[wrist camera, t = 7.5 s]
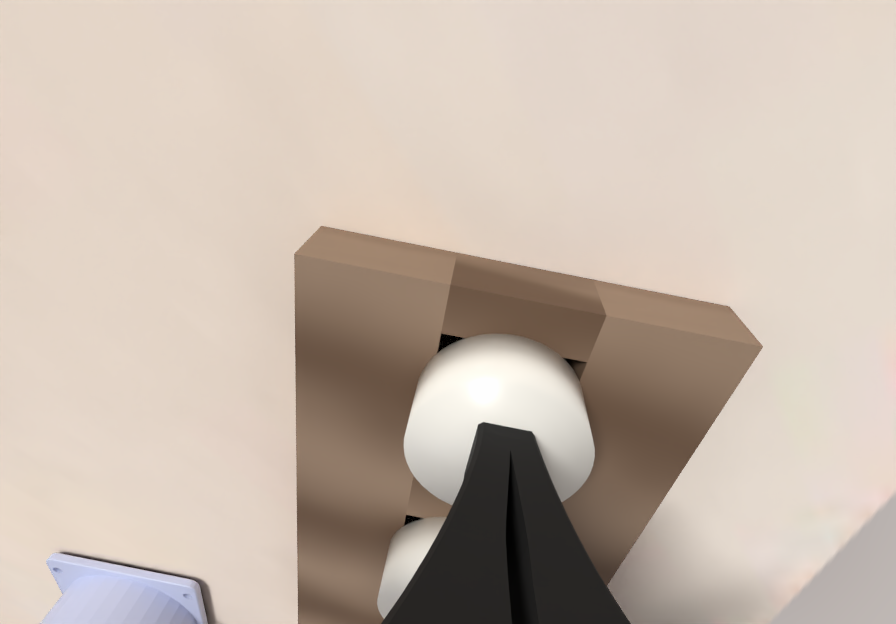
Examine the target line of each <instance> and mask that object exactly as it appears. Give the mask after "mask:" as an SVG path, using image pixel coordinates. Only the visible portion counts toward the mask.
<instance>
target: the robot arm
mask: <svg viewBox="0 0 896 624" xmlns="http://www.w3.org/2000/svg"><path fill="white" fill-rule="evenodd" d="M46 562H47V565H48V567H49V569H50V571H51V573H52V575H53V577H54V578H55V580H56V582H57V584H58V586H59V588H60V590H61V592H62V594H63V595H62V596H61V597H60V599H59V600H58V601H57V602H56V604H55V605H54V606H53V607H52V609H51V610H50V611H49V612H48V614H47V615H46V616H45V617H44V619H43V620H42V621H41V623H40V624H208V622H207V617H206V613H205V608H204V604H203V599H202V595H201V590H200V586H199V584H198V583H197V582H196V581H194V580H191V579H187V578H182V577H177V576H172V575H167V574H162V573H157V572H152V571H147V570H142V569H137V568H132V567H127V566H122V565H117V564H111V563H106V562H101V561H96V560H91V559H86V558H81V557H76V556H71V555H66V554H61V553H53V554H52V555H51V556H50V557H49V558H48V559H47V560H46ZM381 624H630V622H629V621H628V619H627V618H626V616H625V614H624V613H623V611H622V610H621V608H620V607H619V605H618V604H617V602H616V601H615V599H614V598H613V596H612V594H611V593H610V591H609V589H608V588H607V586H606V585H605V583H604V581H603V580H602V578H601V576H600V575H599V573H598V571H597V570H596V568H595V566H594V564H593V563H592V561H591V559H590V557H589V555H588V554H587V552H586V550H585V548H584V546H583V544H582V542H581V541H580V539H579V537H578V535H577V533H576V531H575V529H574V527H573V525H572V523H571V521H570V519H569V517H568V515H567V513H566V511H565V509H564V506H563V504H562V502H561V500H560V498H559V496H558V493H557V491H556V489H555V487H554V484H553V482H552V480H551V477H550V475H549V472H548V470H547V468H546V465H545V463H544V460H543V457H542V455H541V452H540V449H539V447H538V444H537V441H536V438H535V435H534V434H533V433H532V431H527V430H522V429H517V428H511V427H506V426H501V425H496V424H491V423H486V422H482V423H480V424H478V427H477V430H476V434H475V437H474V441H473V445H472V448H471V452H470V455H469V459H468V462H467V466H466V469H465V473H464V480H463V483H462V485H461V488H460V490H459V492H458V494H457V496H456V499H455V501H454V503H453V505H452V507H451V509H450V511H449V513H448V515H447V517H446V519H445V521H444V523H443V525H442V527H441V529H440V531H439V533H438V535H437V536H436V538H435V540H434V542H433V544H432V545H431V547H430V549H429V551H428V552H427V554H426V556H425V557H424V559H423V561H422V562H421V564H420V566H419V567H418V569H417V571H416V572H415V574H414V575H413V577H412V579H411V580H410V582H409V583H408V585H407V587H406V588H405V590H404V591H403V593H402V594H401V596H400V597H399V599H398V600H397V601H396V603H395V604H394V606H393V607H392V609H391V610H390V612H389V613H388V614H387V616H386V617H385V619H384V620H383V622H382V623H381Z"/></svg>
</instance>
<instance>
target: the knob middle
mask: <svg viewBox="0 0 896 624" xmlns="http://www.w3.org/2000/svg"><path fill="white" fill-rule="evenodd" d="M445 519H446V517H430V518H421V519H419V520H416V521H413V522H411V523H408V524H406V525H405V526H403V527H401V528H400V529H399V530H398V531H397V532H396V533H395V534H394V535H393V537H392V539H391V542H390V545H389V550H388V554H387V559H386V563H385V567H384V572H383V576H382V581H381V585H380V590H379V594H378V599H377V605H378V609H379V612H380V614H381V615H382V617H383V618H384V619H385V617H386V616H387V614H388V613H389V612H390V610H391V609H392V607H393V606H394V604H395V603H396V601H397V600H398V599H399V597H400V596H401V594H402V593H403V591H404V590H405V588H406V587H407V585H408V583H409V582H410V580H411V579H412V577H413V575H414V574H415V572H416V571H417V569H418V567H419V566H420V564H421V562H422V561H423V559H424V557H425V556H426V554H427V552H428V551H429V549H430V547H431V545H432V544H433V542H434V540H435V538H436V536H437V535H438V533H439V531H440V529H441V527H442V525H443V523H444V521H445Z"/></svg>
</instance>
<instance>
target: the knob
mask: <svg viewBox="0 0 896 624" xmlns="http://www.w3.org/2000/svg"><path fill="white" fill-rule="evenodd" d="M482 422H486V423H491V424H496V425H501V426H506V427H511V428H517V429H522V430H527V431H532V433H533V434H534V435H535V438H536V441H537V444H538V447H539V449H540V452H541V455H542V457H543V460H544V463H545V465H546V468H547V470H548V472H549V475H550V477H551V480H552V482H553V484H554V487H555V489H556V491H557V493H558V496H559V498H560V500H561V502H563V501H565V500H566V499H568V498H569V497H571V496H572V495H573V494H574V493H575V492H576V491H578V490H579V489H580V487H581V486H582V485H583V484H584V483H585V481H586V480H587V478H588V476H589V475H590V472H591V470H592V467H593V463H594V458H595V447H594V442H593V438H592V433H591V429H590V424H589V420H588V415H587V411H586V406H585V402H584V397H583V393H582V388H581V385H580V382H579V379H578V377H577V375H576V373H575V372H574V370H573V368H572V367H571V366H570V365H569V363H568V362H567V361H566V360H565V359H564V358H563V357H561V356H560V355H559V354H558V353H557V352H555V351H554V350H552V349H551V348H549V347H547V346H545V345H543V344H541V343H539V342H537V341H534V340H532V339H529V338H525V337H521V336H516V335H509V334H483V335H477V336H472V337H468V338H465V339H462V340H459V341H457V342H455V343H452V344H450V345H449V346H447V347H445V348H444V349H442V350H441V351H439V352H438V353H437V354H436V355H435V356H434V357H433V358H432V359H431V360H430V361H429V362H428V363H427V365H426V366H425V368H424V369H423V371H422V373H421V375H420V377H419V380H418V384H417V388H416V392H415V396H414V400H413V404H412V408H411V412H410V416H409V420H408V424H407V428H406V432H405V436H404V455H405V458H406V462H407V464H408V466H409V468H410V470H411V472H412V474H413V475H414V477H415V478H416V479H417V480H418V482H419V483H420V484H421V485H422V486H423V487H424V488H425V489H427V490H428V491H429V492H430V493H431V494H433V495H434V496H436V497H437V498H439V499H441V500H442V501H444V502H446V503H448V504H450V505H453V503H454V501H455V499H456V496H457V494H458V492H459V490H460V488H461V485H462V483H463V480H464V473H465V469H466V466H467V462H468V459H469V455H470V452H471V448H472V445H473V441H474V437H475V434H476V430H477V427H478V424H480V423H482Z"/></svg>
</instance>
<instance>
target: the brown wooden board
mask: <svg viewBox="0 0 896 624" xmlns="http://www.w3.org/2000/svg"><path fill="white" fill-rule="evenodd" d="M294 259H295V357H296V455H297V554H298V624H381V623H382V622H383V620H384V618H383V617H382V615H381V614H380V612H379V609H378V605H377V599H378V594H379V590H380V585H381V581H382V576H383V572H384V567H385V563H386V559H387V554H388V550H389V545H390V542H391V539H392V537H393V535H394V534H395V533H396V532H397V531H398V530H399V529H400V528H401V527H403V526H404V525H405V520H406V515H410V516H415V517H420V518H430V517H447V515H448V513H449V511H450V509H451V507H452V505H450V504H448V503H446V502H444V501H442V500H441V499H439V498H437V497H436V496H434V495H433V494H431V493H430V492H429V491H428V490H427V489H425V488H424V487H423V486H422V485H421V484H420V483H419V482H418V480H417V479H416V478H415V477H414V475H413V474H412V472H411V470H410V468H409V466H408V464H407V462H406V458H405V455H404V436H405V432H406V428H407V424H408V420H409V416H410V412H411V408H412V404H413V400H414V396H415V392H416V388H417V384H418V380H419V377H420V375H421V373H422V371H423V369H424V368H425V366H426V365H427V363H428V362H429V361H430V360H431V359H432V358H433V357H434V356H435V355H436V354H437V353H438V350H439V344H440V339H441V334H447V335H452V336H457V337H462V338H468V337H472V336H477V335H483V334H509V335H516V336H521V337H525V338H529V339H532V340H534V341H537V342H539V343H541V344H543V345H545V346H547V347H549V348H551V349H552V350H554V351H555V352H557V353H558V354H559V355H560V356H561V357H563V358H564V359H565V360H566V361H567V362H568V363H569V365H570V366H571V367H572V368H573V370H574V372H575V373H576V375H577V377H578V379H579V382H580V385H581V388H582V393H583V397H584V402H585V406H586V411H587V415H588V420H589V424H590V429H591V433H592V438H593V442H594V447H595V458H594V463H593V467H592V470H591V472H590V475H589V476H588V478H587V480H586V481H585V483H584V484H583V485H582V486H581V487H580V489H579V490H578V491H576V492H575V493H574V494H573V495H572V496H571V497H569V498H568V499H566V500H565V501H563V502H562V504H563V506H564V509H565V511H566V513H567V515H568V517H569V519H570V521H571V523H572V525H573V527H574V529H575V531H576V533H577V535H578V537H579V539H580V541H581V542H582V544H583V546H584V548H585V550H586V552H587V554H588V555H589V557H590V559H591V561H592V563H593V564H594V566H595V568H596V570H597V571H598V573H599V575H600V576H601V578H602V580H603V581H604V583H605V585H606V586H607V585H608V583H609V582H610V580H611V578H612V577H613V575H614V574H615V572H616V571H617V569H618V568H619V566H620V565H621V563H622V562H623V560H624V559H625V557H626V556H627V554H628V552H629V551H630V549H631V548H632V546H633V545H634V543H635V542H636V540H637V539H638V537H639V536H640V534H641V533H642V531H643V530H644V528H645V526H646V525H647V523H648V522H649V520H650V519H651V517H652V516H653V514H654V513H655V511H656V510H657V508H658V507H659V505H660V504H661V502H662V500H663V499H664V497H665V496H666V494H667V493H668V491H669V490H670V488H671V487H672V485H673V484H674V482H675V481H676V479H677V478H678V476H679V474H680V473H681V471H682V470H683V468H684V467H685V465H686V464H687V462H688V461H689V459H690V458H691V456H692V455H693V453H694V452H695V450H696V448H697V447H698V445H699V444H700V442H701V441H702V439H703V438H704V436H705V435H706V433H707V432H708V430H709V429H710V427H711V426H712V424H713V422H714V421H715V419H716V418H717V416H718V415H719V413H720V412H721V410H722V409H723V407H724V406H725V404H726V403H727V401H728V399H729V398H730V396H731V395H732V393H733V392H734V390H735V389H736V387H737V386H738V384H739V383H740V381H741V380H742V378H743V377H744V375H745V373H746V372H747V370H748V369H749V367H750V366H751V364H752V363H753V361H754V360H755V358H756V357H757V355H758V354H759V352H760V351H761V349H762V347H763V346H762V345H761V344H760V342H759V341H758V340H757V339H756V338H755V336H754V335H753V334H752V333H751V332H750V331H749V329H748V328H747V327H746V326H745V325H744V323H743V322H742V321H741V320H740V319H739V317H738V316H737V315H736V314H735V313H734V312H733V310H732V309H731V308H730V307H728V306H723V305H718V304H713V303H708V302H703V301H698V300H693V299H688V298H683V297H677V296H672V295H667V294H662V293H657V292H652V291H647V290H642V289H637V288H632V287H627V286H622V285H617V284H612V283H607V282H602V281H597V280H592V279H586V278H581V277H576V276H571V275H566V274H561V273H556V272H551V271H546V270H541V269H536V268H531V267H526V266H521V265H516V264H511V263H506V262H501V261H495V260H490V259H485V258H480V257H475V256H470V255H465V254H460V253H455V252H450V251H445V250H440V249H435V248H430V247H425V246H420V245H415V244H409V243H404V242H399V241H394V240H389V239H384V238H379V237H374V236H369V235H364V234H359V233H354V232H349V231H344V230H339V229H334V228H329V227H324V226H321V227H320V228H319V229H318V230H317V231H316V232H315V233H314V234H313V235H312V236H311V237H310V238H309V239H308V240H307V241H306V242H305V243H304V245H303V246H302V247H301V248H300V249H299V250H298V251H297V252H296V253H295V254H294Z"/></svg>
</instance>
